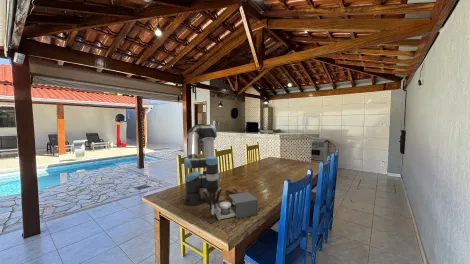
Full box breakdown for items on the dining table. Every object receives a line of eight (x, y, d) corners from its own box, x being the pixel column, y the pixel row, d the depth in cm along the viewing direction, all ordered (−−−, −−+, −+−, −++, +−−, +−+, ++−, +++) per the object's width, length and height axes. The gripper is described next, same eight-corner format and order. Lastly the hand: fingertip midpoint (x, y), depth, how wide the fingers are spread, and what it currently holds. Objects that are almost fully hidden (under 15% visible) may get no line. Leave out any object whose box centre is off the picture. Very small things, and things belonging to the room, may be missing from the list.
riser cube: (215, 204, 148) (215, 197, 148) (222, 203, 150) (222, 196, 150) (217, 208, 142) (216, 200, 142) (224, 206, 144) (224, 199, 144)
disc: (218, 204, 135) (218, 202, 135) (229, 203, 137) (229, 200, 137) (221, 209, 127) (221, 207, 127) (232, 207, 130) (232, 205, 130)
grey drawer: (214, 211, 136) (213, 201, 136) (234, 208, 141) (234, 198, 141) (218, 220, 124) (218, 209, 124) (240, 216, 130) (240, 205, 129)
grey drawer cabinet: (228, 208, 141) (228, 194, 140) (248, 205, 147) (248, 191, 146) (235, 218, 127) (235, 203, 126) (257, 214, 133) (257, 199, 132)
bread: (224, 198, 159) (224, 187, 159) (231, 194, 168) (231, 183, 168) (244, 203, 150) (244, 191, 149) (250, 198, 159) (250, 187, 158)
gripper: (203, 182, 122) (204, 217, 124) (222, 180, 126) (223, 214, 128) (201, 178, 129) (202, 212, 131) (220, 176, 133) (220, 209, 135)
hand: (212, 213), depth 129 cm, fingers closed
